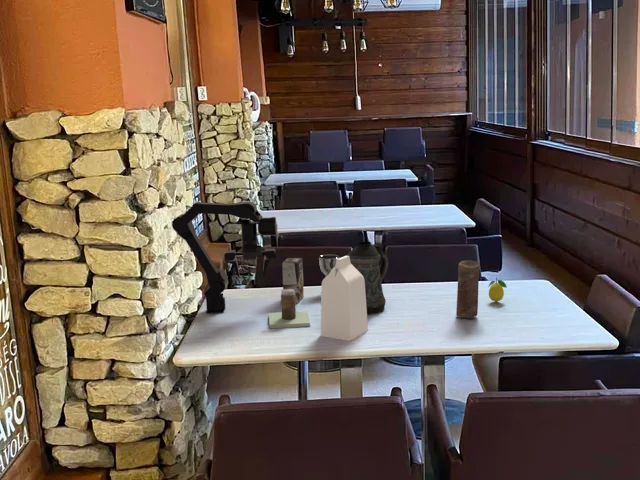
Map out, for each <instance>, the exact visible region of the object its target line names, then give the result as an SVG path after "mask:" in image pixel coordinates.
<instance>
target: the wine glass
mask: <svg viewBox="0 0 640 480" xmlns="http://www.w3.org/2000/svg"><path fill="white" fill-rule="evenodd" d="M339 258H340V256H339V255H337V254H322V255H319V257H318V260H319V262H318V263H319V267H320V271H321V273H323V274H324V276H325V277H326V276H327V275H328V274H329V273H330V272H331V270H332V269H333V268H334V267H335V265H336V261H337V259H339Z"/></svg>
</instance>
